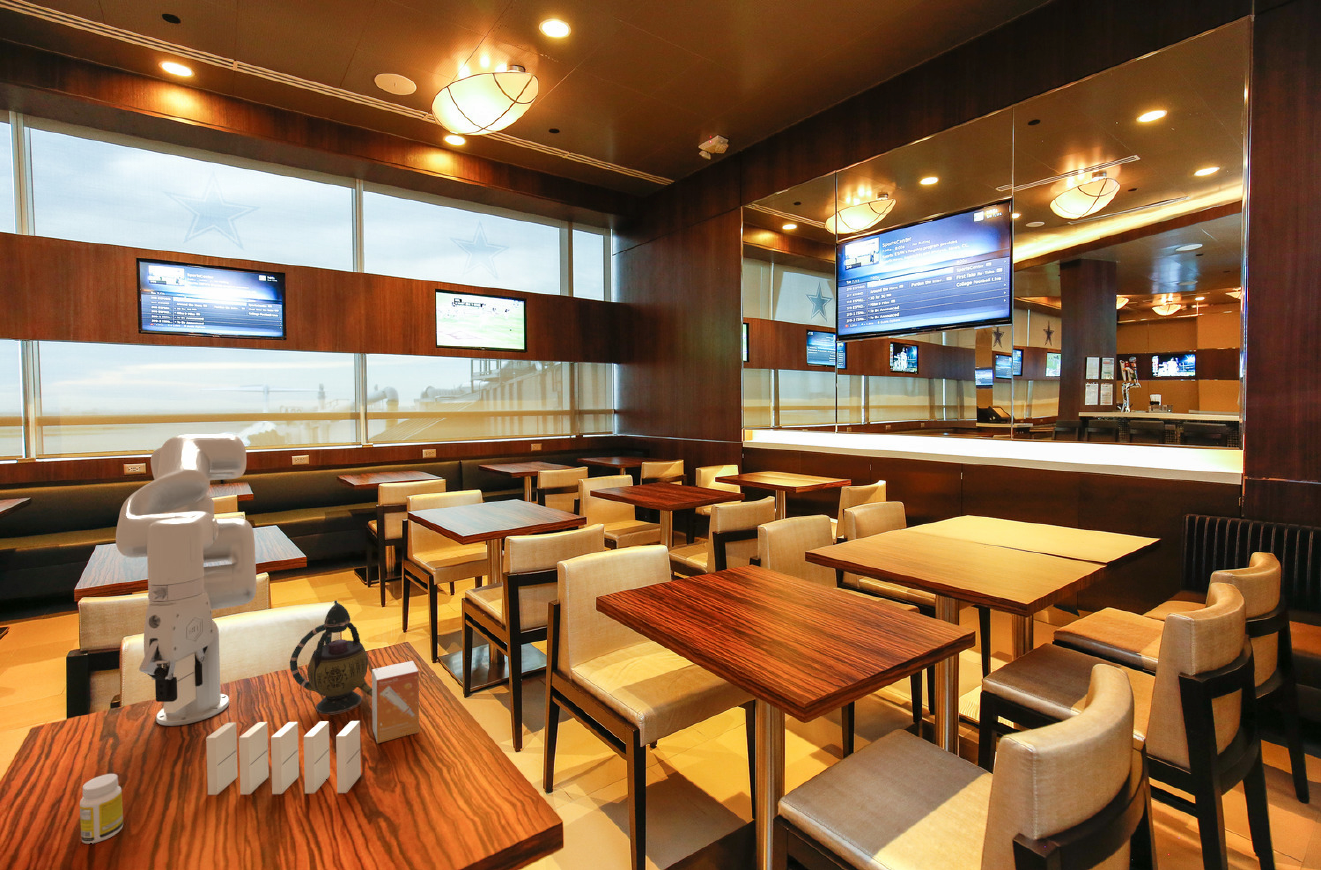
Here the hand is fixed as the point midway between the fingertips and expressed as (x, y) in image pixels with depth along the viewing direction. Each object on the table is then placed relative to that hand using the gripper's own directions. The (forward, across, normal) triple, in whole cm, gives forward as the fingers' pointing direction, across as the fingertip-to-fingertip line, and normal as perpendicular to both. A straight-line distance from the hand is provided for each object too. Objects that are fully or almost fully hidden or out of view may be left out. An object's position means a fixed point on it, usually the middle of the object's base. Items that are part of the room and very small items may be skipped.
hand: (179, 691), depth 103 cm
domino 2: (+17, 0, -7) cm, 18 cm away
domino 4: (+17, 0, -18) cm, 25 cm away
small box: (+17, +17, -30) cm, 39 cm away
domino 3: (+17, 0, -12) cm, 21 cm away
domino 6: (+17, 0, -29) cm, 34 cm away
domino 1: (+2, 0, 0) cm, 2 cm away
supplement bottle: (+17, -12, +3) cm, 21 cm away
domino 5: (+17, 0, -23) cm, 29 cm away
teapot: (+17, +28, -15) cm, 36 cm away
